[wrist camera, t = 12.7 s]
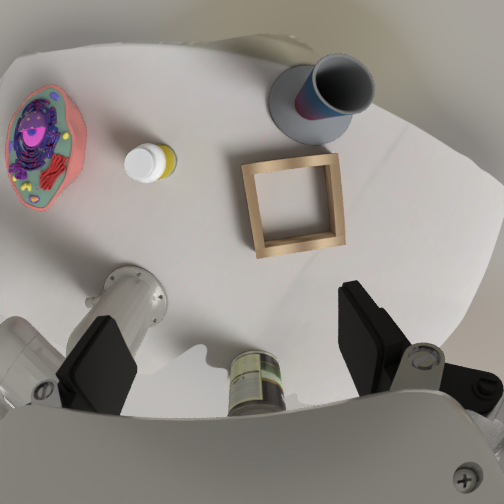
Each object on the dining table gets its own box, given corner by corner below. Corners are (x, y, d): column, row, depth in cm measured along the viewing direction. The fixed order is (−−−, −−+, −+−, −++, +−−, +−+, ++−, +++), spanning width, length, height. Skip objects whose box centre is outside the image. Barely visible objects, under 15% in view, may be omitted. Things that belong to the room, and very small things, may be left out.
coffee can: (285, 352, 52) (295, 406, 39) (274, 386, 56) (280, 437, 42) (233, 346, 51) (230, 401, 38) (227, 381, 55) (224, 434, 42)
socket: (255, 252, 45) (256, 258, 42) (241, 164, 40) (241, 165, 37) (339, 238, 44) (345, 244, 42) (331, 153, 40) (337, 153, 37)
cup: (339, 99, 36) (384, 78, 22) (319, 134, 38) (358, 127, 24) (301, 76, 35) (330, 41, 21) (280, 111, 37) (299, 90, 23)
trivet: (276, 149, 39) (276, 149, 39) (262, 69, 35) (262, 68, 34) (356, 142, 39) (358, 141, 38) (343, 66, 34) (344, 65, 34)
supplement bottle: (173, 139, 38) (153, 136, 29) (181, 173, 40) (163, 179, 31) (141, 150, 39) (114, 150, 29) (149, 182, 41) (124, 191, 31)
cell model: (33, 201, 40) (-5, 215, 30) (37, 100, 34) (-1, 96, 23) (100, 201, 41) (63, 218, 31) (108, 85, 34) (71, 71, 24)
